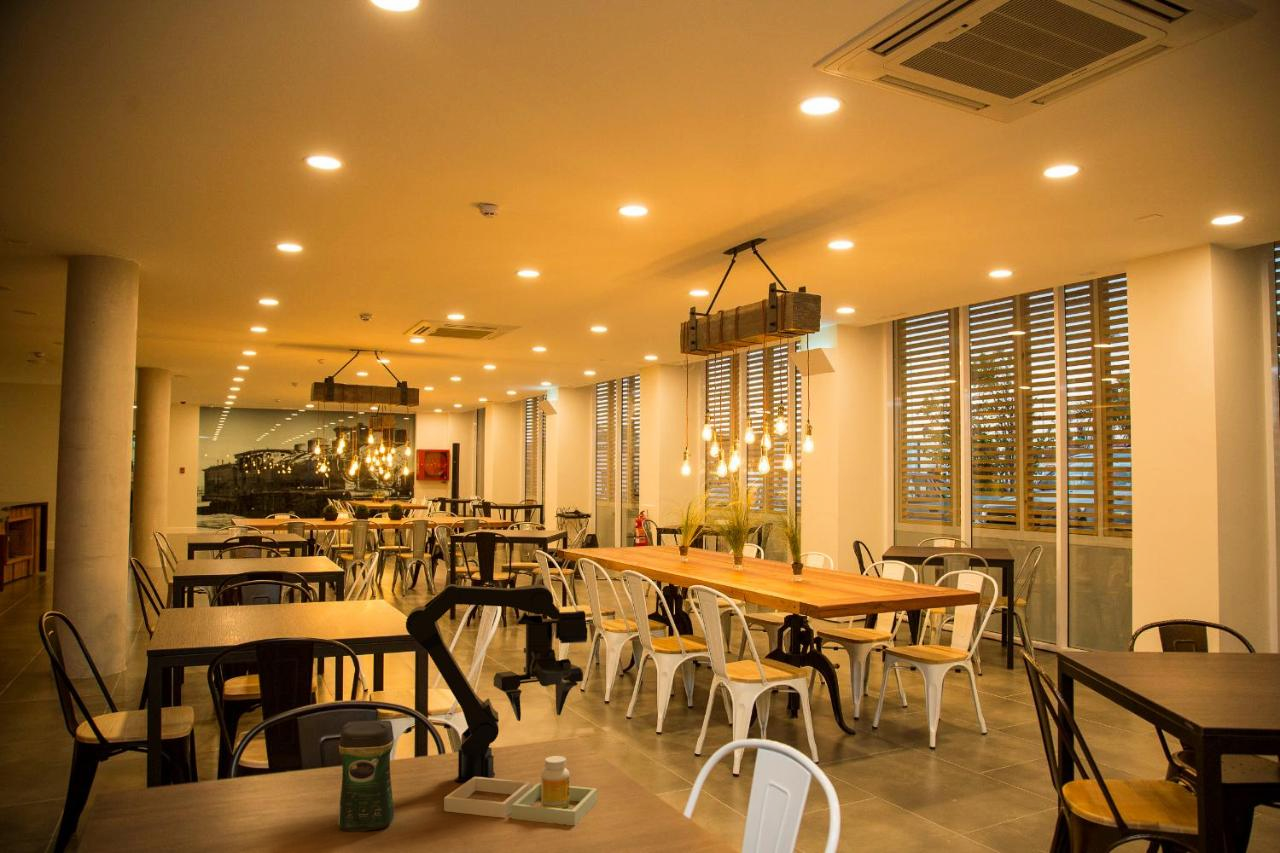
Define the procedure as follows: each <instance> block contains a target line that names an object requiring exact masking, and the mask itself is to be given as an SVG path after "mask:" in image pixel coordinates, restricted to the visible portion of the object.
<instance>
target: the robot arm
mask: <svg viewBox="0 0 1280 853" xmlns="http://www.w3.org/2000/svg"><path fill="white" fill-rule="evenodd" d="M455 605H463V606H464V605H467V606H483V607H484V606H485V607H487V606H488V607H502V608H503V607H506V608H507V607H508V608H511V609H516V610H518V611H523V613H522V615H520V617H518V618H517V619H516V622H517V625H521V626H522V625H525V647H524V648H523V653H524V654H525V666H523V674H521V673H520V674H518V673H516V672H515V671H512V670H510V671H509V670H508V671H500V672H496V673H495V675H494V676H493V686H494V687H495V688H496V689H498V690H499V691H502V692H503V693H504V694H505V695H506V696H507V699H508V700H509V702H510V705H511V708H512V711H513V714H514V716H515V719H516V721H517V722H520V721H521V719H522V718H521V717H522V708H521V693H522V689H520V686H521V685H522V684H529V683H536V682H537V683H538V682H539V685H541V686H542V687H549V686H553V685H554V686H555V711H556V715H557V716H561V714H562V711H563V709H564V705H565V703H566V701H567V700H566V699H567V697H568V695H569V692H570V691H571V690H572V688H573V687H577V686H578V684H579V682H584V671H583V669H582V668H581V667H579V666H578V665H574V664H573V663H571V660H570V659H569V658H564V659H559V660H557V658H556V652H555V651H556V650H555V649H553V624H554V640H555V639H556V640H557V639H558V641H559V642H560V644H581V643H582V644H583V643H584V644H585V643H587V641H588V627H587V619H586V612H585V610H577V611H562V612H561V611H560V608H559V607H557V606H556V605H555V604H554V597H553V594H552V592H551V590H550V589H549V588H548V587H547V586H546V585H544V584H529V585H522V586H517V587H509V588H507V587H492V586H473V585H471V586H470V585H458V584H454V583H451V584H448V585H447V586H445V587H444V589H443V590H442V591H441V592H440V593H438V594H437V595H436V596H434V597H433V598H432V599H431V600H430V601H428V602H427V603H426V604H424V605H419V606H417V607H415V608H413V609H412V610H411V611H410V612H409V614H408V616H407V618H406V622H405V629H406V631H407V633H408V634H409V635H410V636H411V637H412V639H413V640H414V641H415V642H416V643H417V644H418V645H419V646H420V647H421V648H423V650H424V651H426V652H427V653H428V655H429V657H430V658H431V660H432V661H433V663H434V665H435V667H436V668H437V671H439V673H440V675H441V677H442V679H444V681H445V683H446V685H447V686H448V688H449V690H450V691H451V693H452V695H453V696H454V698H455V699H456V702H457V703H458V704H459V707H460V708H461V710H462V713H463V716H464V719H465V722H466V725H467V727H466V729H465V730H464V731H463V732H462V734H461V739H460V748H458V752H457V753H458V755H457V757H458V758H457V760H458V762H457V764H458V767H457V770H458V772H457V773H458V775H457V777H455V778H454V782H455V783H456V782H457V783H463V784H464V783H466V782H467V781H469V780H470V779H471V778H473V777H484V778H493V777H494V776H495V775H496V774H495V773H496V772H495V771H494V755H492V750H493V749H492V747H490V745H491V744H493V743H494V742H495V741H496V739H497V737H498V736H499V721H500V719H499V712H498V711H496V710H495V709H494V707H493V706H492V702H491V700H490V698H489V697H488V698H487V699H485V700H484V701H483V700H482V699H481V698H480V697H479V696H478V695H477V694H476V692H475V690H474V689H473V687H472V686H471V684H470V682H469V681H468V678H467V677H466V675H465V673H464V672H463V671H462V669H461V667H460V666H459V664H458V662H457V660H456V659H455V657H454V655H453V654H452V652H451V650H450V649H449V647H448V646H447V644H446V642H445V639H444V637H443V635H442V632H441V629H440V628H441V627H440V626H439V623H438V620H440V619H441V618H443V616H444V615H445V614H446V613H447V612H448V611H449V610H451V609H452V607H454V606H455ZM528 613H530V614H533V615H529V614H528ZM542 615H545V616H547V617H548V618H543V616H542Z"/></svg>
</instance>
